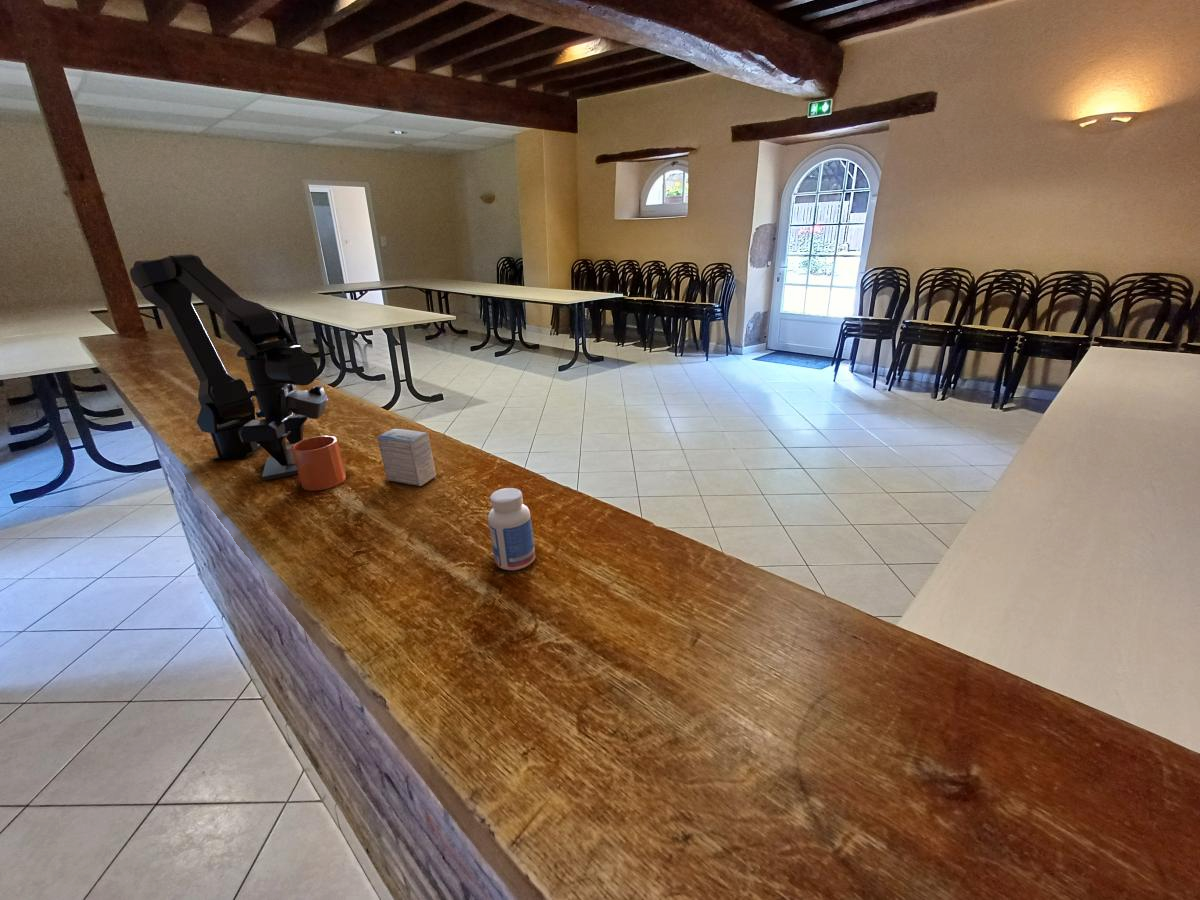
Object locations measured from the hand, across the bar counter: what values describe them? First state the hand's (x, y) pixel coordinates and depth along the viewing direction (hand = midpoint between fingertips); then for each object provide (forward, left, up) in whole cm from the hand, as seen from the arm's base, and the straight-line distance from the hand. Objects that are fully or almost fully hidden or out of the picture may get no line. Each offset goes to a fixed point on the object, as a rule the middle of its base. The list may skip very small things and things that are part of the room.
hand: (292, 458), depth 107 cm
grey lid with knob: (0, 0, -1) cm, 1 cm away
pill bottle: (+45, -40, -2) cm, 60 cm away
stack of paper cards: (+25, -11, -2) cm, 27 cm away
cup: (+9, -9, -1) cm, 13 cm away
